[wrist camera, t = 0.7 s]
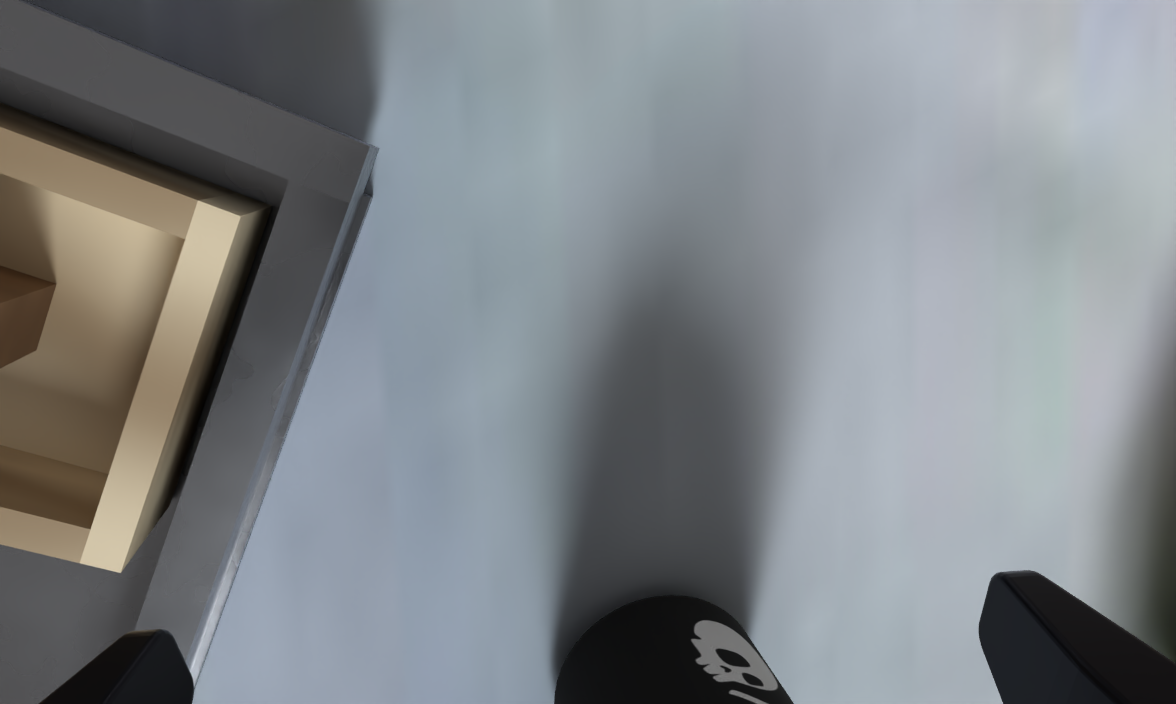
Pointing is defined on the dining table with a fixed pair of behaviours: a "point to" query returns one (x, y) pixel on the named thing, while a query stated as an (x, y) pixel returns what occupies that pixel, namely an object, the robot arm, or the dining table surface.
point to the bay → (249, 358)
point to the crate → (106, 333)
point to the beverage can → (667, 658)
